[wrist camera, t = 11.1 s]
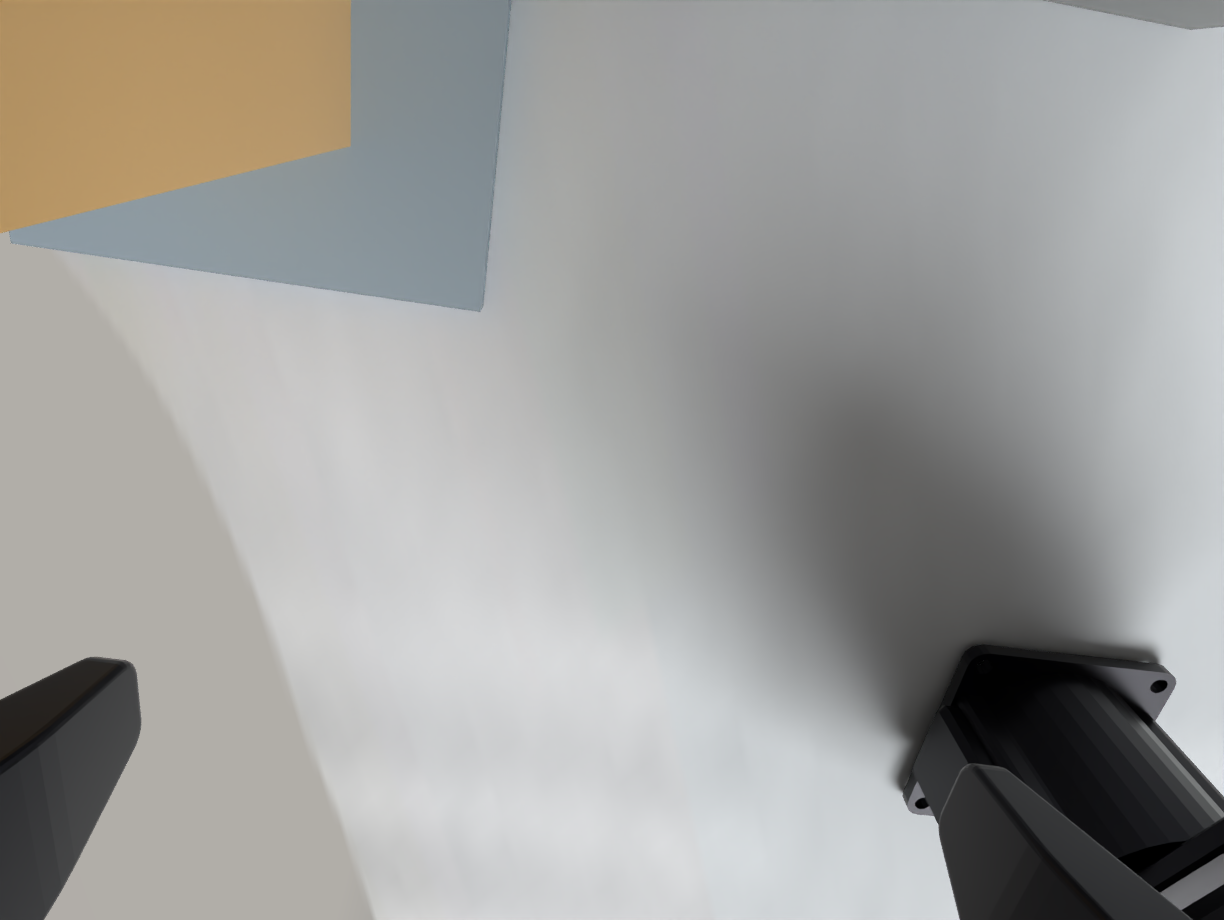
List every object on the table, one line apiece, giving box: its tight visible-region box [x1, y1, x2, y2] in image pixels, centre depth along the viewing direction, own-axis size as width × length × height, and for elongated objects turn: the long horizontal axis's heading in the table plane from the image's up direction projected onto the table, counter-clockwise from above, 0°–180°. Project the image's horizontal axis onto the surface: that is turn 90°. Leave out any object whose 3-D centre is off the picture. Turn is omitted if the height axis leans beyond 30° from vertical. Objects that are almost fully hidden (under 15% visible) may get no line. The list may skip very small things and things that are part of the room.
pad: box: [9, 0, 511, 312], centre depth 16 cm, size 10×10×1 cm
